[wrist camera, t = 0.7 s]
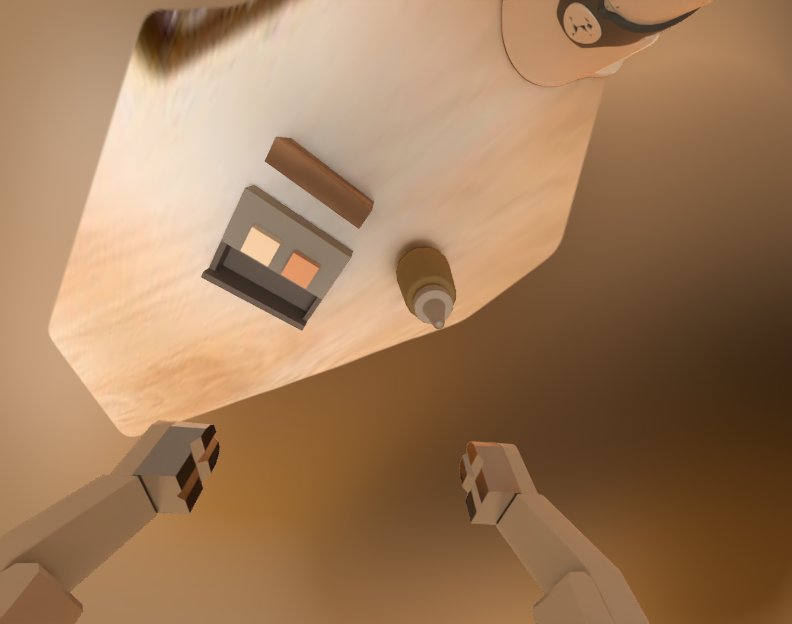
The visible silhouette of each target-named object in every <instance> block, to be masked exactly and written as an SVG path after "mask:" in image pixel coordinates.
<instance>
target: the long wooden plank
mask: <svg viewBox="0 0 792 624" xmlns="http://www.w3.org/2000/svg"><path fill="white" fill-rule="evenodd" d="M265 162H267V163H268V164H269V165H271V166H272V167H274V168H275V169H276V170H278V171H279V172H281V173H282V174H283V175H285V176H286V177H287V178H289V179H290V180H292V181H293V182H294V183H296V184H297V185H299V186H300V187H301V188H303V189H304V190H306V191H307V192H308V193H310V194H311V195H313V196H314V197H315V198H317V199H318V200H320V201H321V202H322V203H324V204H325V205H327V206H328V207H329V208H331V209H332V210H334V211H335V212H336V213H338V214H339V215H340V216H342V217H343V218H345V219H346V220H347V221H349V222H350V223H352V224H353V225H354V226H356V227H357V228H360V227H361V225H362V224H363V222H364V221H365V220H366V218H367V217H368V215H369V214H370V212H371V211H372V208H373V203H374V202H373V201H372V200H370V199H369V198H368V197H367V196H365V195H364V194H363V193H361V192H360V191H359V190H357V189H356V188H355V187H354V186H352V185H351V184H350V183H348V182H347V181H346V180H344V179H343V178H342V177H341V176H339V175H338V174H337V173H335V172H334V171H333V170H331V169H330V168H329V167H328V166H326V165H325V164H324V163H322V162H321V161H320V160H318V159H317V158H316V157H315V156H313V155H312V154H311V153H309V152H308V151H307V150H305V149H304V148H303V147H302V146H300V145H299V144H298V143H296V142H295V141H294V140H292V139H291V138H282V137H276V138H275V140H274V142H273V145H272V147H271V149H270V151H269V153H268V155H267V157H266V159H265Z"/></svg>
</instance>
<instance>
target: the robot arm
mask: <svg viewBox="0 0 792 624" xmlns="http://www.w3.org/2000/svg"><path fill="white" fill-rule="evenodd" d="M712 1H715V0H503V5H502V33H503V39H504V44H505V47H506V51H507V53H508V56H509V58H510V60H511V62H512V64H513V65H514V67H515V68H516V70H517V71H518V72H519V73H520V74H521V75H522V76H523V77H524V78H526V79H527V80H529V81H530V82H532V83H534V84H537V85H541V86H547V87H553V86H561V85H564V84H568V83H570V82H573V81H575V80H577V79H580V78H583V77H587V76H588V77H607V76H609V75H611V74H613V73H615V72H616V71H617V70H618V69H619V68H620V67H621V66H622V64H623V63H624V61H625V60H626V58H627V57H629V56H631V55H633V54H635V53H637V52H639V51H641V50H643V49H645V48H646V47H648V46H650V45H652V44H653V43H654V42H655V41H656V40H657V39H658V38H659V34H660V33H662V32H663V31H665V30H667V29H669V28H671V26H673V25H675V24H677V23H679V22H681V21H682V20H684V19H685V18H687V17H688V16H690V15H691V14H693V13H694V12H695V11H696V10H698V9H699V8H700V7H701V6H703V5H706V4H708V3H710V2H712ZM215 433H216V429H215V426H214V425H210V424H198V423H187V422H186V423H185V422H176V421H162V420H158V421H157V422H155V423H154V424H152V425H151V426H150V427H149V428H148V430H147V431H146V432H145V433H144V434H143V436H142V437H141V438H140V439H139V440H138V441H137V443H136V444H135V445H134V446H133V447H132V449H131V450H130V451H129V452H128V453H127V454H126V456H125V457H124V458H123V459H122V460H121V462H120V463H119V464H118V465H117V466H116V468H115V469H114V470H113V471H112V472H111V473H110V474H109V475H108V474H103V475H102V476H100V477H98V478H97V479H95V480H93V481H92V482H90V483H88V484H87V485H85V486H83V487H82V488H80V489H78V490H77V491H75V492H73V493H72V494H70V495H68V496H67V497H65V498H63V499H62V500H60V501H58V502H57V503H55V504H53V505H52V506H50V507H48V508H47V509H45V510H43V511H42V512H40V513H38V514H37V515H35V516H33V517H32V518H30V519H28V520H27V521H25V522H23V523H22V524H20V525H18V526H17V527H15V528H13V529H12V530H10V531H9V532H7V533H5V534H3V535H2V536H0V624H75V623H76V622H77V620H78V618H79V617H80V615H81V613H82V612H83V605H82V603H80V602H79V601H78V600H77V599H76V598H75V597H74V596H73V595H72V594H71V593H70V591H72V590H73V589H74V588H75V587H76V586H77V585H78V584H80V583H81V582H82V581H83V580H84V579H85V578H86V577H88V576H89V575H90V574H91V573H92V572H93V571H94V570H95V569H97V568H98V567H99V566H100V565H101V564H102V563H103V562H105V561H106V560H107V559H108V558H109V557H110V556H111V555H113V554H114V553H115V552H116V551H117V550H118V549H119V548H120V547H122V546H123V545H124V544H125V543H126V542H127V541H128V540H130V539H131V538H132V537H133V536H134V535H135V534H136V533H137V532H139V531H140V530H141V529H142V528H143V527H144V526H145V525H146V524H148V523H149V522H150V521H151V520H152V519H153V518H155V517H156V515H157V514H156V513H188V514H190V512H191V511H192V509H193V507H194V505H195V503H196V501H197V499H198V497H199V496H200V494H201V491H202V490H203V486H202V480H203V479H205V478H206V477H207V476H209V475H210V474H211V473H212V471H213V469H214V467H215V465H216V463H217V459H218V456H219V450H220V446H219V441H218V440H216V439H215V438H214V435H215ZM466 450H467V454H465V455H464V456H462V459H461V462H460V470H459V471H460V479H461V484H462V486H463V488H464V489H465V490H466V491H467V493H468V495H467V497H466V500H465V501H466V505H467V509H468V514H469V518H470V522H471V523H475V524H492V525H497V526H496V527H497V528H498V530H499V531H500V532H501V534H502V535H503V537H504V538H505V540H506V541H507V542H508V544H509V545H510V547H511V548H512V549H513V551H514V552H515V554H516V555H517V556H518V558H519V559H520V561H521V562H522V563H523V565H524V566H525V568H526V569H527V570H528V572H529V573H530V575H531V576H532V578H533V579H534V580H535V582H536V583H537V584H538V586H539V587H540V589H541V590H542V592H543V593H544V594H545V595H544V596H543V597H542V598H541V599H540V600H539V601H538V602H537V603H536V604H535V605H534V606H533V609H532V613H533V616H534V620H535V622H536V624H650V623H649V622H648V620H647V618H646V616H645V615H644V613H643V611H642V609H641V607H640V605H639V604H638V602H637V600H636V598H635V597H634V595H633V593H632V591H631V589H630V588H629V586H628V584H627V582H626V580H625V579H624V577H623V575H622V573H621V572H620V570H619V569H618V568H617V567H616V566H615V565H613V564H612V563H611V562H610V561H609V560H608V559H607V558H606V557H605V556H604V555H603V554H602V553H601V552H600V551H599V550H598V549H597V548H596V547H595V546H594V545H593V544H592V543H591V542H590V541H589V540H588V539H587V538H586V537H585V536H584V535H583V534H582V533H581V532H580V531H579V530H578V529H577V528H576V527H575V526H573V524H572V523H570V521H568V520H567V519H566V518H565V517H564V516H563V515H562V514H561V513H560V512H559V511H558V510H557V509H556V508H555V507H554V506H553V505H552V504H551V503H550V502H549V501H548V500H547V499H546V498H545V497H544V496H543V495H538V493H537V491H536V489H535V487H534V485H533V482H532V480H531V478H530V476H529V473H528V472H527V469H526V467H525V465H524V463H523V460H522V458H521V456H520V454H519V452H518V449H517V448H516V446H515V445H513V444H498V443H490V442H489V443H488V442H470V443H468V445H467V447H466Z"/></svg>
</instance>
